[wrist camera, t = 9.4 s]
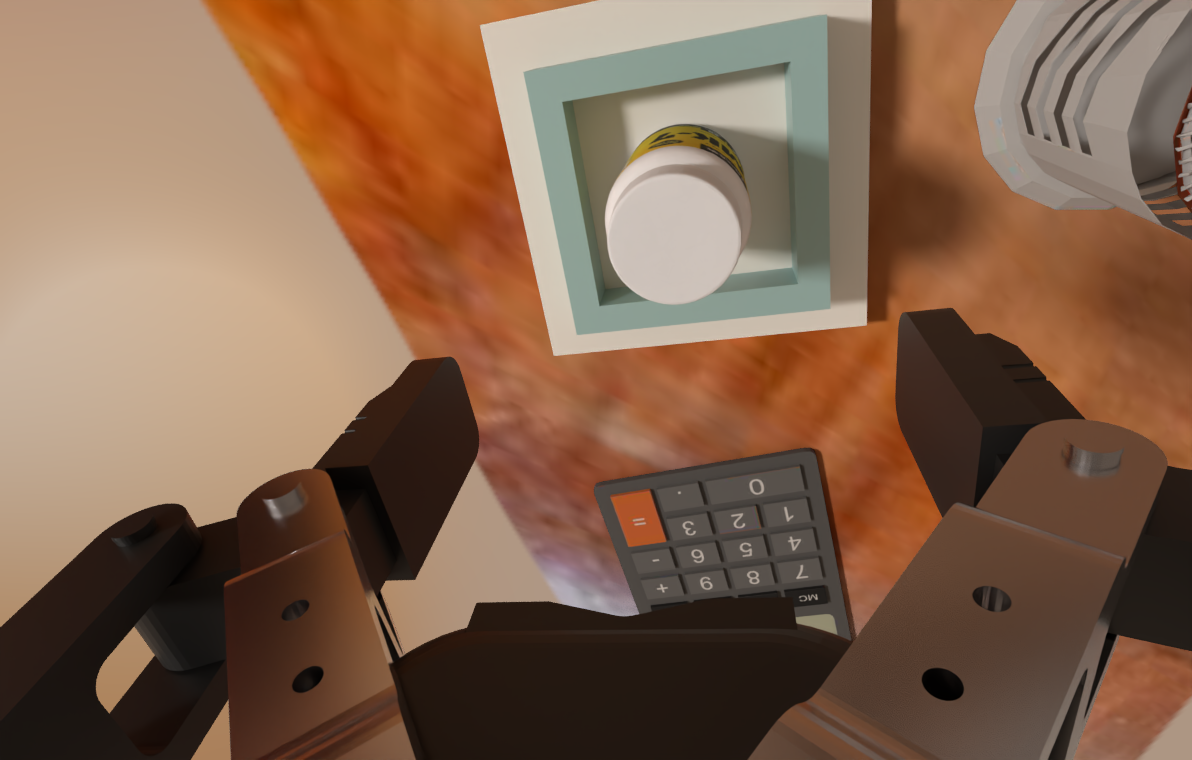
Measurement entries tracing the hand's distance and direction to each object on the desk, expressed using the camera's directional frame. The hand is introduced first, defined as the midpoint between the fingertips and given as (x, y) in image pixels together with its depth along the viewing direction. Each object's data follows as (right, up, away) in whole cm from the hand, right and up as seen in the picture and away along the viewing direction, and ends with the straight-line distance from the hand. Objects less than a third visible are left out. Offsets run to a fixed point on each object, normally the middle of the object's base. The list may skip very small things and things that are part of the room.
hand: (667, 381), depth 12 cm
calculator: (+6, -11, +26) cm, 29 cm away
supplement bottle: (+2, +8, +15) cm, 17 cm away
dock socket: (+2, +8, +15) cm, 18 cm away
